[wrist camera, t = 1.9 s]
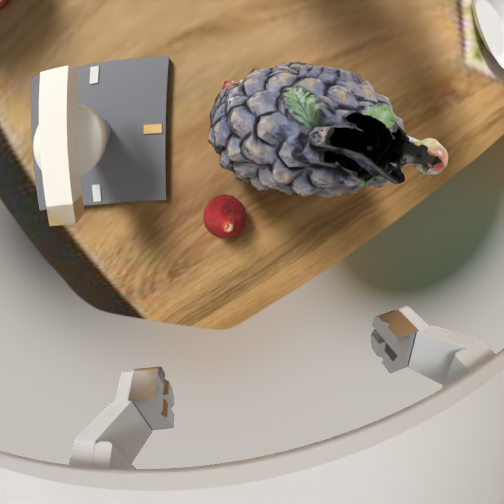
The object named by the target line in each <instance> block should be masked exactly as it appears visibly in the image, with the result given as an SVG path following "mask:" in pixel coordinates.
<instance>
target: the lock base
mask: <svg viewBox="0 0 504 504" xmlns="http://www.w3.org/2000/svg"><path fill="white" fill-rule="evenodd" d="M74 68H77V69H79V84H78V105H85V106H88V107H90V108H92V109H94V110H95V111H96V112H97V113H98V114H99V115H100V117H101V118H102V120H103V122H104V124H105V127H106V132H107V143H106V148H105V151H104V154H103V156H102V158H101V159H100V161H99V162H98V164H97V165H96V166H95V167H94V168H93V169H91V170H90V171H89V172H87V173H86V174H85V175H83V176H82V177H81V187H82V196H83V205H84V206H85V205H97V204H109V203H123V202H138V201H155V200H166V197H167V196H166V108H167V85H168V68H169V56H168V57H148V58H135V59H125V60H116V61H108V62H101V63H94V64H88V65H82V66H77V67H74ZM39 84H40V75H37V76H34V77H32V99H31V126H32V148H33V142H34V136H35V133H36V130H37V127H38V125H39ZM33 161H34V172H35V181H36V189H37V196H38V202H39V209H40V210H46V209H47V208H46V201H45V194H44V186H43V178H42V171H41V169H40V168H39V166H38V164H37V162H36V160H35V156H34V150H33Z"/></svg>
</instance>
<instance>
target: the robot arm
mask: <svg viewBox="0 0 504 504" xmlns="http://www.w3.org/2000/svg"><path fill="white" fill-rule="evenodd" d="M373 327H374V328H375V330H374V331H373V333H372V334H371V343H372V348H373V350H374V352H375V353H376V355H377V356H379V357H382V358H383V362H382V363H383V364H384V366H385V367H386V368H387V370H388V371H389V372H390V373H393V372H395V371H398V370H400V369H403V368H405V367H408V368H410V369H412V370H414V371H416V372H418V373H420V374H422V375H424V376H426V377H428V378H430V379H432V380H434V381H436V382H439V383H440V384H442V385H443V386H442V389H441V390H439V391H437V392H436V393H434V394H432V395H430V396H429V397H427V398H424V399H423V400H421V401H419V402H417V403H415V404H413V405H411V406H409V407H406V408H404V409H402V410H400V411H398V412H396V413H394V414H391V415H389V416H387V417H385V418H382V419H380V420H378V421H375V422H373V423H370V424H368V425H366V426H363V427H360V428H358V429H355V430H352V431H349V432H347V433H344V434H341V435H338V436H335V437H332V438H330V439H326V440H323V441H320V442H316V443H313V444H310V445H306V446H303V447H300V448H295V449H291V450H288V451H284V452H279V453H275V454H271V455H266V456H261V457H256V458H251V459H246V460H240V461H235V462H228V463H221V464H214V465H205V466H197V467H184V468H170V469H136V468H135V467H134V466H133V465H132V462H133V460H134V459H135V457H136V456H137V454H138V453H139V451H140V450H141V448H142V447H143V445H144V444H145V442H146V441H147V439H148V438H149V436H150V434H151V433H152V430H159V429H168V428H173V427H174V426H173V425H174V424H173V423H174V414H173V412H172V410H171V408H172V407H173V405H174V396H173V391H172V388H171V385H170V383H169V382H168V381H167V380H165V373H164V371H163V369H162V367H152V368H142V369H134V370H124V371H123V372H122V373H121V377H120V381H119V386H118V390H117V395H116V399H115V402H111V403H110V404H109V405H108V406H107V407H106V408H105V409H104V410H103V411H102V412H101V413H100V414H99V415H98V416H97V417H96V418H95V419H94V420H93V421H92V422H91V424H89V426H88V427H87V428H86V429H85V430H84V431H83V432H82V433H81V434H80V435H79V436H78V437H77V438H76V439H75V441H74V445H73V450H72V454H71V458H70V462H69V465H66V464H59V463H51V462H46V461H41V460H35V459H31V458H26V457H21V456H17V455H13V454H10V453H6V452H1V451H0V504H504V349H503V350H501V351H500V352H499V353H497V354H495V353H494V352H493V351H492V350H491V349H490V348H489V347H488V346H487V345H485V344H484V343H483V342H482V341H481V340H480V339H479V338H475V337H472V336H468V335H465V334H461V333H458V332H454V331H451V330H447V329H443V328H440V327H436V326H433V325H432V326H429V325H428V324H427V323H426V322H425V321H424V320H422V319H421V318H420V317H419V316H418V315H417V314H416V313H415V312H414V311H413V310H412V309H411V308H410V307H408V306H404V307H401V308H398V309H396V310H393V311H390V312H388V313H385V314H382V315H379V316H376V317H374V319H373Z"/></svg>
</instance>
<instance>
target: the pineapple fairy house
mask: <svg viewBox="0 0 504 504" xmlns="http://www.w3.org/2000/svg"><path fill="white" fill-rule="evenodd" d="M210 121H211V126H210V127H211V128H210V129H209V136H208V141H209V143H211V144H212V146H213V147H214V149H215V151H216V152H217V153H218V154H219V155H220V160H219V164H220V166H221V167H222V168H224V169H227V170H230V171H233V172H234V174H235V176H236V178H237V179H238V180H241V181H243V182H251V184H252V186H253V187H254V188H255V189H257V190H259V191H261V190H269V189H277V190H278V191H279V192H280V193H281V194H289V195H291V194H292V193H294V192H295V193H296V194H297V195H300V196H302V197H305V196H309V195H318V196H320V197H322V198H331V197H334V196H336V195H337V196H340V195H341V194H343V193H344V192H346V193H354V194H356V193H357V192H358V191H359V190H360V189H361V188H363V187H369V186H370V185H371V186H374V187H377V188H378V187H384V185H385V183H386V181H387V180H389V181H390V182H392V183H394V184H400V183H402V182H404V181H405V178H404V174H403V173H402V172H401V168H402V167H403V166H404V165H405V164H406V163H414V167H415V168H416V169H417V170H418V171H419V172H421V173H423V174H426V175H435V174H440V173H441V172H442V171H443V170H444V168H445V167H446V166H447V163H448V154H447V150H446V149H445V148H444V147H443V146H442V145H441V144H440V143H439V142H438V141H437V140H436V139H432V138H427V139H423V140H418V139H415V138H412V137H410V136H407V135H406V133H405V131H404V125H403V120H402V118H400V117H399V116H398V115H396V114H395V113H394V112H393V107H392V105H391V104H390V101H389V98H388V97H387V96H384V95H382V94H378V93H376V92H375V90H374V89H373V87H372V84H371V83H370V82H369V81H368V80H367V81H361V78H360V74H358V73H356V72H353V71H349V70H344V69H339V68H334V67H328V66H318V65H311V64H306V63H301V62H291V63H282V64H280V65H278V66H276V67H274V68H262V69H253V70H252V71H251V72H250V73H249V74H248V75H247V77H246V78H245V79H242V80H240V81H239V83H238V82H235V81H232V80H231V81H225V82H224V85H223V87H222V91H221V92H220V93H219V94H218V96H217V97H216V100H215V103H214V105H213V108H212V111H211V113H210Z"/></svg>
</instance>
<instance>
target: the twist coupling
mask: <svg viewBox="0 0 504 504" xmlns="http://www.w3.org/2000/svg"><path fill="white" fill-rule="evenodd" d="M78 84H79V69H77V68H74V67H72V66H69V65H68V66H63V67H59V68H54V69H50V70H46V71H42V72H40V84H39V125H38V127H37V130H36V133H35V136H34V142H33V150H34V156H35V160H36V162H37V164H38V166H39V168H40V169H41V171H42V178H43V186H44V194H45V201H46V208H47V214H48V219H49V225H50V226H56V225H67V224H76V223H77V221H78V220H79V219H80V218H81V216H82V215H83V214H84V213H85V212H84V205H83V196H82V187H81V177H82V176H83V175H85V174H86V173H87V172H89V171H90V170H91V169H93V168H94V167H95V166H96V165H97V164H98V162H99V161H100V159H101V158H102V156H103V154H104V151H105V148H106V143H107V132H106V127H105V124H104V122H103V120H102V118H101V117H100V115H99V114H98V113H97V112H96V111H95V110H94V109H92V108H90V107H88V106H85V105H78Z"/></svg>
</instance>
